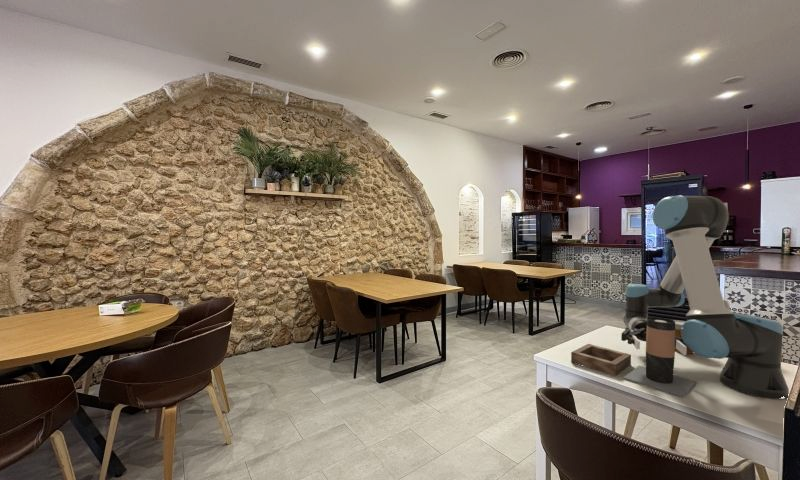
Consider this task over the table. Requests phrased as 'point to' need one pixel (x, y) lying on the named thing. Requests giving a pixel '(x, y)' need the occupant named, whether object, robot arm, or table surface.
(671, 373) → the travel mug
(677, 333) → the disposable coffee cup
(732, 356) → the robot arm
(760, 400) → the table surface
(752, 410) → the table surface
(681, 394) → the rubber mat
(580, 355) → the frame
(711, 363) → the table surface
